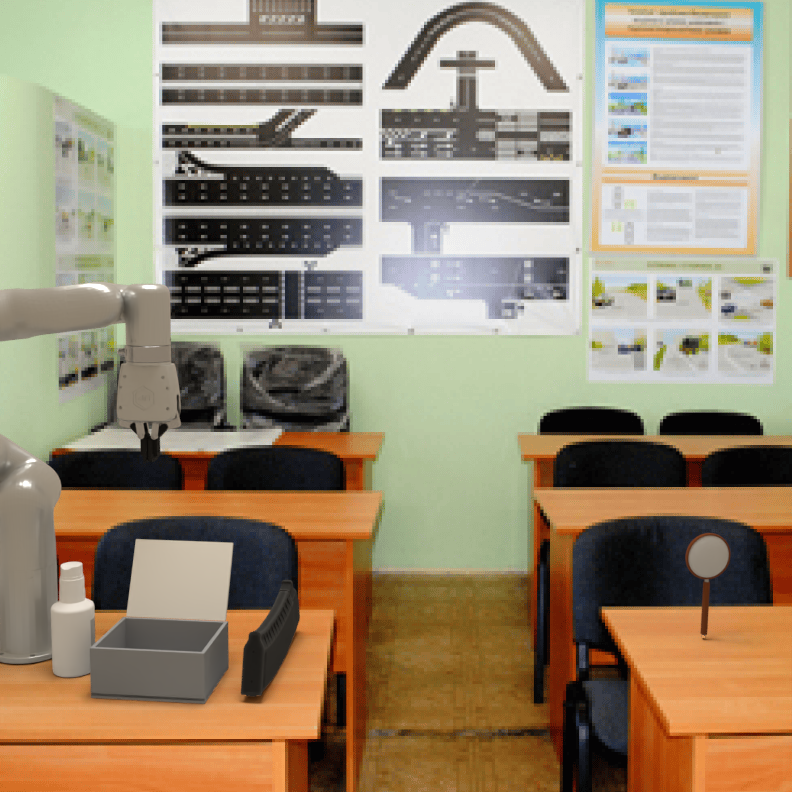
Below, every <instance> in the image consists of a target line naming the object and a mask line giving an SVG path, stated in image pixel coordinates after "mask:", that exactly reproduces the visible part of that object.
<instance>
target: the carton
mask: <svg viewBox="0 0 792 792" xmlns="http://www.w3.org/2000/svg"><path fill="white" fill-rule="evenodd" d="M229 663H230V662H229V621H227V620H226V621H217V620H194V619H172V618H149V617H127V616H123V617H121V618H119V620H118V621H117V622H116V623H114V625H113V626H111V628H110V629H109V630H108V631H106V633H104V634H103V635H102V636H101V637H100V638H99V639H98V640H97V641H95V644H94V645H93V646H92V647H90V673H89V674H90V675H89V676H90V678H89V679H90V699H104V700H105V699H106V700H107V699H108V700H122V701H123V700H126V701H144V702H145V701H147V702H164V703H184V704H185V703H186V704H202V705H203V704H206V703H207V701H208V699H209V698H210V697H211V695H212V693H213V692H214V691H215V689H216V687H217V686H218V685H219V683H220V681H221V680H222V679H223V677H224V675H225V673H226V672H227V671H228V670H229Z"/></svg>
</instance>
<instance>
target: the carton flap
mask: <svg viewBox="0 0 792 792" xmlns="http://www.w3.org/2000/svg"><path fill="white" fill-rule="evenodd" d="M134 544H135V545H134V553H133V558H132V559H133V561H132V567H131V575H130V576H131V577H130V584H129V592H128V600H127V607H126V615H125V617H140V618H162V619H185V620H208V621H227V617H228V615H227V614H228V605H229V595H230V593H229V592H230V585H231V583H230V582H231V575H232V574H231V572H232V565H233V564H232V563H233V554H234V552H233V551H234V542H223V541H222V542H221V541H200V540H199V541H195V540H172V539H171V540H169V539H167V540H166V539H141V538H136V539H135V543H134Z"/></svg>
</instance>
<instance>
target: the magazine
mask: <svg viewBox="0 0 792 792" xmlns="http://www.w3.org/2000/svg"><path fill="white" fill-rule="evenodd" d="M300 619H301V615H300V599H299V596H298V592H297V589H296V588H294V584H293V581H292V580H291V579H283V580H281V585H280V588H279V590H278V594H277V596H276V598H275V601H274V602H273V605H272V607H271V608H270V609H269V612H268V614H267V615H266V617H265V618H264V620H263V621H262V622H261V623H260V625H259V626H258V628H256V629H254V630H252V631H250V632H249V633H248V638H247V639H248V640H247V642H246V643H245V645H244V646H243V648H242V649H243V650H242V651H243V654H242V667H241V669H242V670H241V680H240V681H241V684H240V694H241V695H242V696H245V697H251V698H252V697H253V698H254V697H257V696H258V697H261V696H263V692H264V691H265V689H267V687H268V686H269V684H270V683H271V682H272V681H273V680H274V679H275V676H276V675H277V674H278V672H279V670H280V668H281V667H282V665H283V663H284V661H285V659H286V656H287V655H288V652H289V650H290V648H291V644H292V643H293V639H294V637H295V634H296V632H297V629H298V626H299V623H300Z"/></svg>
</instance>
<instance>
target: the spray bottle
mask: <svg viewBox="0 0 792 792" xmlns="http://www.w3.org/2000/svg"><path fill="white" fill-rule="evenodd" d="M83 565H84V564H83V563H82V562H81V561H68V562H63V563H61V564H60V576H59V580H58V582H59V591H58V594H59V595H58V599H59V600H58V601H57V602H56V603H54V604H53V605H52V607H51V635H52V658H51V662H52V663H51V664H52V672H53V674H54V675H55V676H56V677H60V678H77V677H83V676H85V675H88V674H90V647H92V646H93V645H94V644H95V643H96V620H95V619H96V616H95V615H96V614H95V612H96V611H95V608H96V607H95V603H94V601H93V600H91V599H89V598H87V597H86V588H85V575H84V573H83V572H84V569H83Z"/></svg>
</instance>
